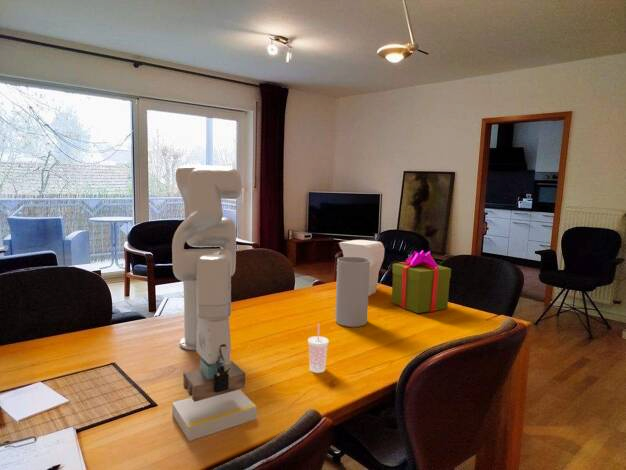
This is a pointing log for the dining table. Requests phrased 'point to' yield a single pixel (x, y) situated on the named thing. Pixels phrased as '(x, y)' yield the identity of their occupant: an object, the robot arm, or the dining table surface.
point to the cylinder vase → (352, 291)
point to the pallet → (211, 383)
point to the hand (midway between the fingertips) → (214, 382)
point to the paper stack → (368, 251)
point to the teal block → (208, 368)
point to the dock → (213, 413)
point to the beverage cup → (317, 352)
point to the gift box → (420, 284)
